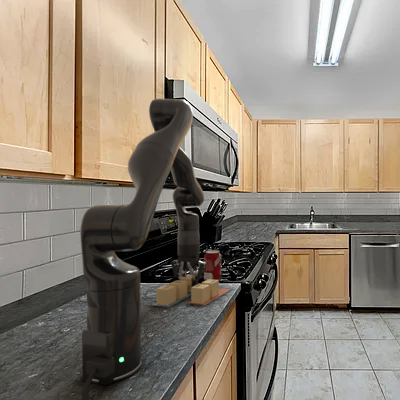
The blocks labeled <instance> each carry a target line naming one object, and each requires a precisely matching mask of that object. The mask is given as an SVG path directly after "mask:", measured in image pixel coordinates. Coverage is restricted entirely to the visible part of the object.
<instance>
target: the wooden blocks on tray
mask: <svg viewBox="0 0 400 400" xmlns="http://www.w3.org/2000/svg"><path fill="white" fill-rule="evenodd" d="M230 290H231V288H223V287H222V288H221V287H220V280H211V279H208V280H206V281H205V280H204V281H202V282H201V283H198V285H196V286H194V287H192V288H191V296H190V299H191V300H190V301H189V302H188V304H192V305H201V306H206V305H208V304H209V303H210V302H212V301H214V300H215V299H217V298H219V297H220V296H222V295H224V294H226V292H229V291H230Z"/></svg>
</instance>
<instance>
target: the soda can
mask: <svg viewBox="0 0 400 400" xmlns="http://www.w3.org/2000/svg"><path fill="white" fill-rule="evenodd" d="M203 262H207V266H206V269H205V273H204V276H203V280H204V281H206V280H208V279H211V280H219V281H220V280H221V279H222V254H221V253H220V250H218V249H217V250H216V249H211V250H206V251H205V254H204V256H203Z"/></svg>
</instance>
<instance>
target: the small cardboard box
mask: <svg viewBox="0 0 400 400" xmlns="http://www.w3.org/2000/svg"><path fill="white" fill-rule="evenodd" d="M180 281H187V292H191V288H192V276H191V274H186V275H185V276H183V277H180Z"/></svg>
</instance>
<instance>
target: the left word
mask: <svg viewBox="0 0 400 400" xmlns="http://www.w3.org/2000/svg"><path fill="white" fill-rule="evenodd" d="M155 293H156V294H155V295H156V302H155V303H152V304H151V306H157V307H166V308H169V307H172V306H173V305H175V304H177V303H180V302H181V301H183V300H185V299H187V298H189V297H191V292H187V281H180V280H179V279H176V280H174V281H172V282H169V283H168V284H164V285H162V286H159V287H157V288H156V290H155Z"/></svg>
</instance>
